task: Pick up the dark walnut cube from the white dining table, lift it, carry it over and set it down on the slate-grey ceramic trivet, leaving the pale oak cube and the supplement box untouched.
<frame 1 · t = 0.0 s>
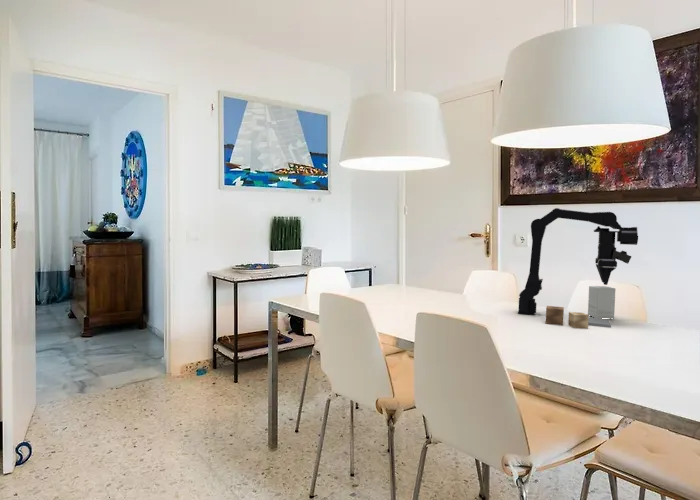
hand: (604, 283, 183), 15 cm above the table, tool pointing down, fingers open, 9 cm apart
trivet: (591, 322, 179), on the table
walnut cube: (554, 323, 177), on the table
supplement box: (600, 318, 190), on the table
oak cube: (577, 327, 171), on the table
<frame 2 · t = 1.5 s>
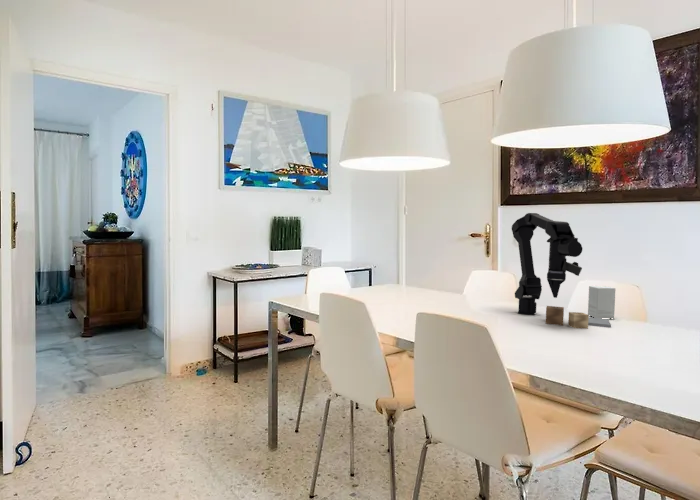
hand: (555, 295, 176), 10 cm above the table, tool pointing down, fingers open, 9 cm apart
nothing on the table moved.
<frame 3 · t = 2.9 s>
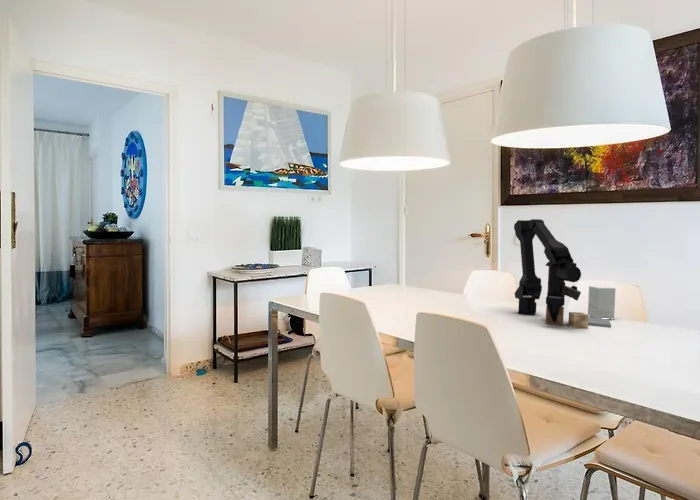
hand: (554, 319, 177), 1 cm above the table, tool pointing down, fingers closed on walnut cube, 6 cm apart
walnut cube: (554, 323, 177), on the table, touching gripper
everything else where it was.
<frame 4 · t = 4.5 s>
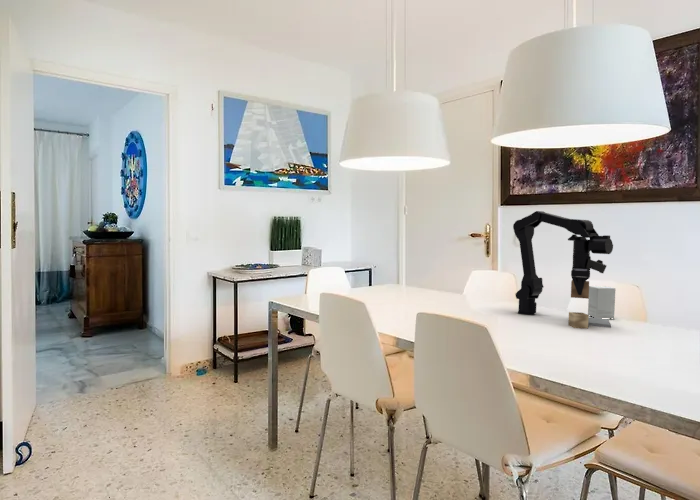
hand: (579, 293, 177), 11 cm above the table, tool pointing down, fingers closed on walnut cube, 6 cm apart
walnut cube: (579, 297, 177), point 10 cm above the table, touching gripper
everything else where it was.
when the fingers open (4 cm above the table, at t = 6.6 s): walnut cube drops 2 cm, resting on trivet.
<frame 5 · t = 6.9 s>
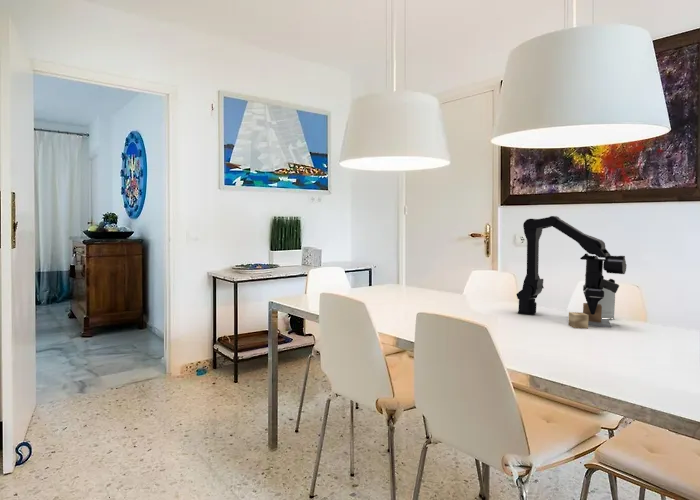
hand: (592, 312, 179), 4 cm above the table, tool pointing down, fingers open, 9 cm apart
walnut cube: (591, 320, 179), point 1 cm above the table, touching trivet
everything else where it was.
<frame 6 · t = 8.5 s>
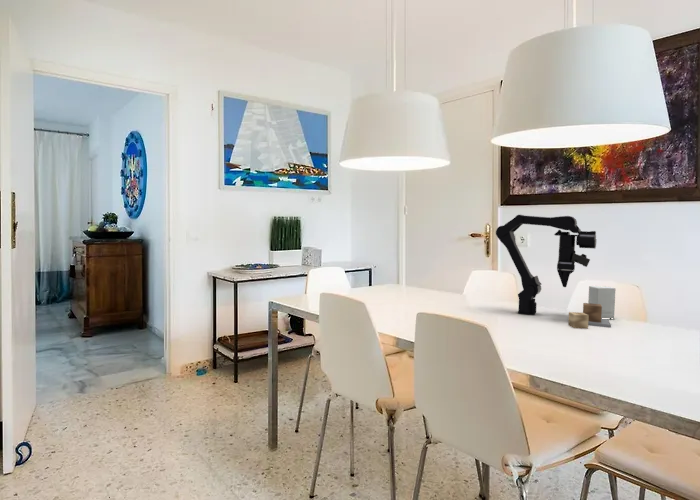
hand: (564, 285, 188), 13 cm above the table, tool pointing down, fingers open, 9 cm apart
nothing on the table moved.
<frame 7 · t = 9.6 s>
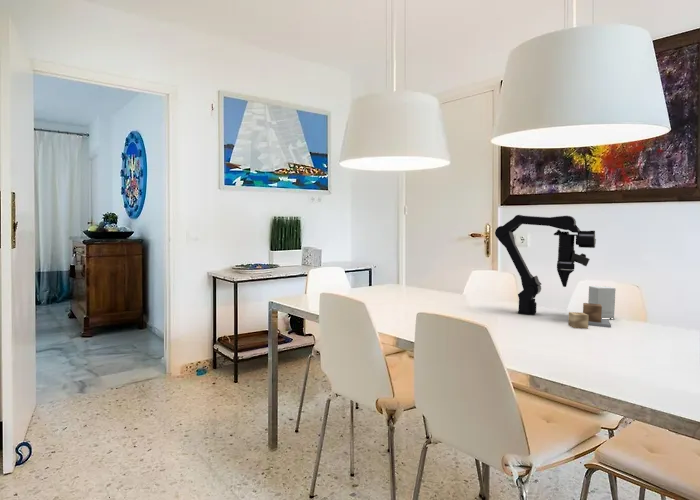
hand: (564, 285, 188), 13 cm above the table, tool pointing down, fingers open, 9 cm apart
nothing on the table moved.
at the end: walnut cube inside the target area on the trivet (0.0 cm from its centre), point 1.0 cm above the trivet's base; walnut cube tilted 0°; the gripper is holding nothing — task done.
